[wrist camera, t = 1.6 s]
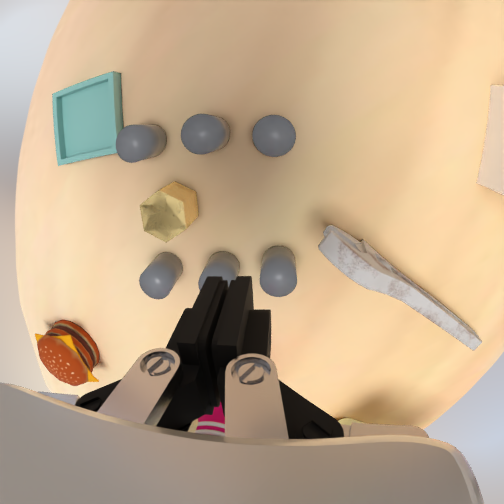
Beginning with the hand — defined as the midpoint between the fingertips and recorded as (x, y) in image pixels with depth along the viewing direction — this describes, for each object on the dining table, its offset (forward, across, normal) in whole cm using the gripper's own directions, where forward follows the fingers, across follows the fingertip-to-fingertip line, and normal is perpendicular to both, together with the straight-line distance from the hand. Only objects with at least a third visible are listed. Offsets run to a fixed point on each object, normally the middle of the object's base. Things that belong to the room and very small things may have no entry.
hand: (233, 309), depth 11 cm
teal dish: (+17, +17, -10) cm, 26 cm away
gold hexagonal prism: (+17, +8, 0) cm, 19 cm away
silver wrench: (+17, -17, +10) cm, 26 cm away
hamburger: (+17, +29, +20) cm, 39 cm away
